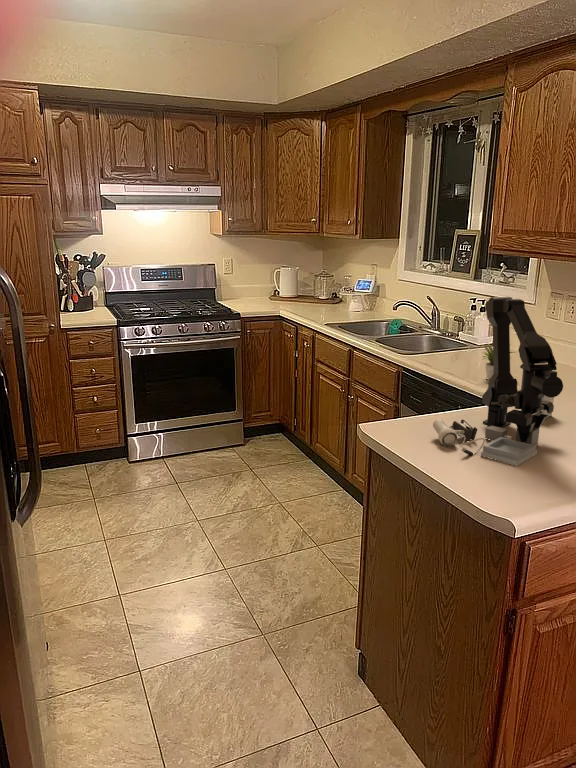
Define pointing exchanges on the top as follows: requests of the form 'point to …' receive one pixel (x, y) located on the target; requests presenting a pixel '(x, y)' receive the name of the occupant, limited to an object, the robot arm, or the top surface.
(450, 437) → the clip-on lamp
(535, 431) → the brick
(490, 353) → the house plant
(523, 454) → the blue gray tray
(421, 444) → the top surface
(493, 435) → the cable plug
